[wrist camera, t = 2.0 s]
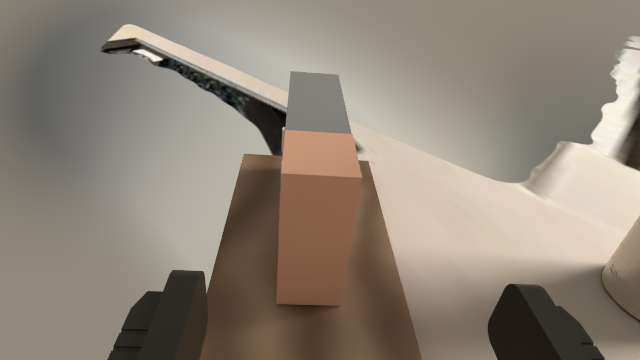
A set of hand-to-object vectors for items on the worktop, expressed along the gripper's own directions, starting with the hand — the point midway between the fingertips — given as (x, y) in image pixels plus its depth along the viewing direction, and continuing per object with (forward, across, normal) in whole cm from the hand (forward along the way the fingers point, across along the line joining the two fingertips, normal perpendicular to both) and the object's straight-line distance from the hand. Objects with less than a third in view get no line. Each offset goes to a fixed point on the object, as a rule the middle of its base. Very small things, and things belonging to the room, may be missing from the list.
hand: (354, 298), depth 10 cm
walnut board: (+21, 0, +18) cm, 27 cm away
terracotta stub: (+16, 0, +17) cm, 23 cm away
